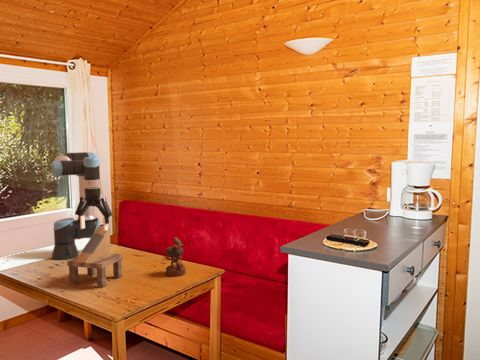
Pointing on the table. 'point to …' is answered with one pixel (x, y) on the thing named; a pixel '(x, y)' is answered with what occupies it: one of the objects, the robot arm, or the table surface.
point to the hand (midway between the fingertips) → (94, 229)
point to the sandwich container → (96, 246)
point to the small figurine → (175, 260)
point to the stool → (96, 268)
